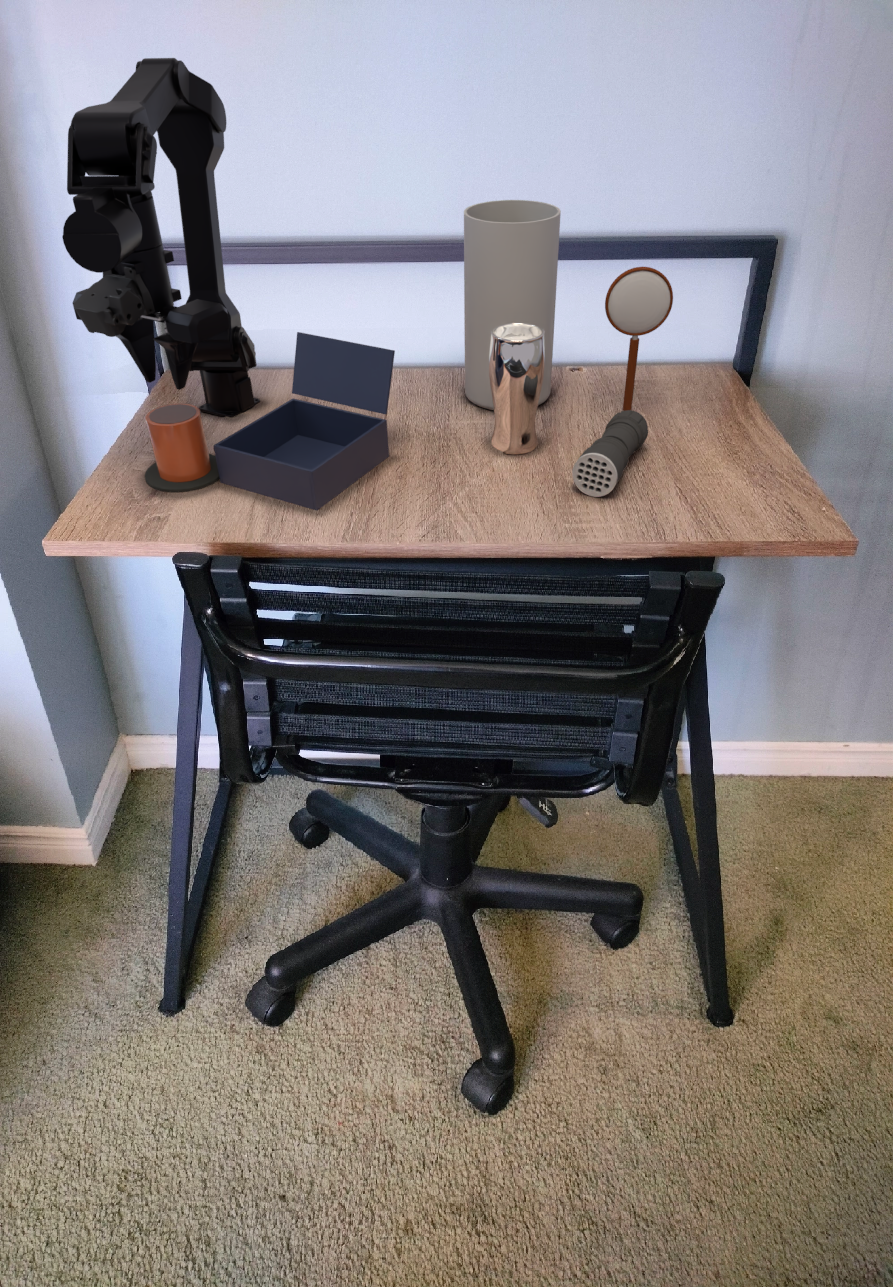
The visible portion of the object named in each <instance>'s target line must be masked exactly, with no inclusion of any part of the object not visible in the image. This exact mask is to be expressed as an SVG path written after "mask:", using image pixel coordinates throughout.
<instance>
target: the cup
mask: <svg viewBox="0 0 893 1287" xmlns="http://www.w3.org/2000/svg"><path fill="white" fill-rule="evenodd" d="M145 423H146V426H147V431H148V435H149V439H150V443H151V447H152V451H153V456H154V460H155V463H156V464H157V468H158V472H159V476H160V477H161V478H162V479H164V480H166V481H170V482H188V481H193V480H196V479H199V478H201V477H203V476H205V475H206V474H208V473H209V472H210V470H211V462H210V457H209V454H210V452H209V447H208V443H207V438H206V434H205V433H206V432H205V428H204V423H203V417H202V413H201V411H200V409H199V406H196V405H194V404H192V403H191V404H190V403H170V404H165V405H161V406H158V407H155V408H153V409H151V410H149V411H148V412H147V413H146V415H145Z"/></svg>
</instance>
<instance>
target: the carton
mask: <svg viewBox="0 0 893 1287" xmlns="http://www.w3.org/2000/svg"><path fill="white" fill-rule="evenodd" d="M388 434H389V433H388V420H387V419H386V418H380V417H376V416H372V415H368V414H364V413H358V412H355V411H350V410H346V409H341V408H337V407H333V406H329V405H324V404H319V403H315V402H312V401H311V402H310V401H308V400H307V401H306V400H302V399H297V398H291V399H289V400H288V401H286V402H284V403H283V404H281V405H278V406H277V407H276V408H274V409H272V410H271V411H269V412H267V413H266V414H264V415H262V416H260V417H258V418H257V419H256V420H254V421H252V422H251V423H249V424H247V425H246V426H244V427H242V428H240V429H239V430H237V431H235V432H233V433H232V434H230V435H228V436H227V437H225V438H223V439H222V440H220V441H219V442H216V443H215V444H214V445H213V451H214V455H215V457H216V462H217V467H218V472H219V477H220V480H219V482H220V484H222V485H226V486H230V487H234V488H237V489H241V490H244V491H248V492H251V493H255V494H258V495H260V496H261V495H262V496H264V497H268V498H272V499H275V500H279V501H281V502H282V501H283V502H285V503H288V504H289V503H290V504H292V505H296V506H299V507H303V508H307V509H310V510H312V511H319V510H320V509H322V508H323V507H324V506H326V505H327V504H328V503H329V502H330V501H332V500H334V499H335V498H336V497H337V496H338V495H340V494H341V493H343V492H344V491H345V490H347V489H348V488H350V486H352V485H353V484H355V483H356V482H358V481H359V480H360V479H361V478H363V477H364V476H365V475H366V474H368V473H370V471H372V470H373V469H374V468H376V467H377V466H379V465H380V464H381V463H383V462H384V461H385V460H386V459H388V458H389V457H390V450H389V435H388Z"/></svg>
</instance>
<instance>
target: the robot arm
mask: <svg viewBox="0 0 893 1287" xmlns="http://www.w3.org/2000/svg"><path fill="white" fill-rule="evenodd" d="M226 130H227V112H226V108H225V104H224V103H223V101H222V99H221V97H220V95H219V94H218V93H217V91H216V89H215V87H214V86H213V85H212V84H211V83H210V82H208V81H207V80H205V79H203V78H202V77H200V76H198V75H196V74H195V73H193V72H192V71H190V70H189V68H188V67H187V65H185V63H184V61H182V60H178V59H177V58H176V57H147V58H146V57H145V58H142V60H138V61H137V62H136V63H135V71H134V72H133V74H132V75H131V76H130V77H129V78H128V80H127V81H126V82H125V83H124V84H123V85H122V87H121V88H120V89H119V90H118V91H117V93H115V95H114V96H113V98H111V99H110V100H109V101H108V102H105V103H101V104H95V105H90V106H87V107H83V108H82V109H80V110H78V111H76V112H74V115H73V117H72V118H71V121H70V125H69V127H68V132H67V165H66V166H67V167H66V168H67V170H66V172H67V173H66V193H67V194H68V195H70V196H73V197H72V202H73V206H74V207H73V208H74V210H75V211H73V212H72V213H70V214H69V215H68V216H67V218H66V219H65V221H64V224H63V228H62V229H63V230H62V242H63V245H64V248H65V250H66V252H67V253H68V255H69V257H70V258H71V259H72V260H73V261H74V262H75V263H76V264H77V265H78V266H80V267H81V268H83V269H85V270H86V271H89V272H91V273H102V277H101V278H100V279H99V280H98V281H96V282H93V284H92V285H90V286H89V287H87V288H85V289H82V290H79V291H77V292H76V293H75V295H74V298H73V300H72V308H73V310H74V314H75V317H76V320H79V321H81V322H82V323H83V325H84V327H85V328H86V330H87V331H88V333H91V334H95V333H97V334H102V335H105V336H106V337H110V338H114V337H116V338H117V339H119V340H120V342H121V343H122V345H123V346H124V347H125V349H126V350H127V352H128V353H129V355H130V356H131V359H132V360H133V361H134V363H135V365H136V366H137V368H138V370H139V372H140V373H141V375H142V377H143V378H144V380H145V382H147V383H153V382H154V381H156V375H157V362H156V345H155V344H156V343H157V344H158V345H159V346H161V347H162V348H163V349H164V352H165V355H166V356H165V357H166V359H167V363H168V367H169V370H170V374H171V378H172V381H173V383H174V386H175V389H176V390H178V391H180V390H182V389H184V388H186V385H187V381H188V377H189V374H190V372H195V371H196V372H197V371H198V372H199V375H200V380H201V381H200V382H201V385H202V390H203V395H204V401H205V402H204V403H203V404H201V405H199V406H198V408H199V409H200V412H203V413H207V414H210V415H211V414H212V415H215V416H218V417H223V418H225V417H227V418H235V417H237V416H238V415H240V414H242V413H244V412H245V411H247V410H249V409H251V408H252V407H254V406H256V405H258V404H259V403H261V400H260V398H256V397H254V392H253V385H252V381H251V380H252V378H251V377H250V376H249V371H250V369H253V368H256V367H257V365H258V364H257V359H256V358H257V354H256V348H255V344H254V342H253V340H252V339H251V337H250V335H249V334H248V332H247V331H246V329H245V328H244V327H243V326H242V319H241V313H240V311H239V309H238V308H237V307H236V305H235V304H234V302H233V301H232V299H231V298H230V297H229V295H228V294H227V289H226V280H225V271H224V261H223V260H224V259H223V251H222V250H223V249H222V240H221V231H220V220H219V211H218V210H219V209H218V200H217V188H216V179H215V170H216V168H217V165H218V163H219V161H220V159H221V156H222V155H223V152H224V150H225V132H226ZM156 133H157V138H158V142H157V139H156V137H155V134H156ZM158 143H159V147H160V149H161V150H162V152H163V153H164V155H165V156H166V158H167V159H168V161H169V162H170V163H171V165H172V167H173V168H174V170H175V176H176V184H177V192H178V193H177V194H178V200H179V208H180V209H179V210H180V218H181V227H182V235H183V236H182V237H183V241H184V242H183V244H184V252H185V254H184V255H185V261H186V270H187V278H188V288H189V295H188V297H187V300H186V302H185V304H182V305H180V306H175V304H174V303H175V302H177V301H181V300H182V298H183V297H182V292H181V290H180V289H177V288H172V284H171V279H170V274H169V270H168V264H169V263H173V262H175V258H174V253H173V251H172V250H166V249H164V245H163V239H162V235H161V230H160V226H159V225H160V224H159V221H158V220H159V219H158V215H157V210H156V205H155V201H154V196H153V192H152V191H153V190H155V187H156V186H155V183H154V181H155V180H154V178H155V170H156V163H157V162H156V161H157V154H158ZM154 322H157V323H162V324H164V326H165V327H164V333H162V334H159V335H157V336H155V323H154ZM155 342H156V343H155Z"/></svg>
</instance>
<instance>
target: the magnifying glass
mask: <svg viewBox="0 0 893 1287" xmlns="http://www.w3.org/2000/svg"><path fill="white" fill-rule="evenodd" d="M673 291H674V290H673V287H672V284H671V283H670V281H669V279H668V278H667V277H666V275H665V274H664V273H663V272H661V271H659V270H657V269H656V268H653V267H650V266H637V267H632V268H629V269H627V270H625V271H624V272H622V273H620V274H619V275H618V276H617V277H616V278H615V279H614V280H613V281H612V283H611V284H610V285H609V287H608V290H607V292H606V295H605V300H604V311H605V314H606V317H607V320H608V322H609V324H610V325H611V326H612V327H613V328H614V329H615V330H616V331H618V332H619V333H621V334H623V335H626V336H630V338H629V345H628V346H629V347H628V355H627V366H626V367H627V368H626V374H625V375H626V376H625V383H624V394H623V403H622V411H626V410H633V409H632V407H633V398H634V391H635V381H636V373H637V365H638V364H637V363H638V354H639V345H640V337H639V336H645V335H647V334H650V333H652V332H654V331H656V330H657V329H658V328H659V327H661V326H662V325H663V324H664V323H665V322H666V320H667V318H668V317H669V315H670V313H671V311H672V308H673V303H674V292H673Z"/></svg>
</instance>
